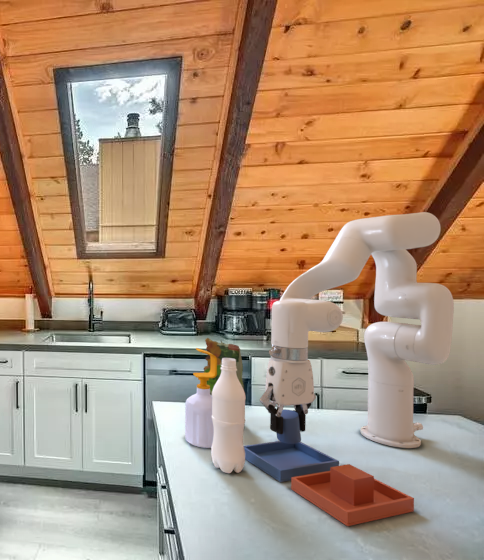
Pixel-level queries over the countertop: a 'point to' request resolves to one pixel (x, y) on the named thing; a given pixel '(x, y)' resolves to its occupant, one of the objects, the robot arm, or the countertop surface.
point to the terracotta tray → (320, 495)
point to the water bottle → (228, 419)
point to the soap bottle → (201, 409)
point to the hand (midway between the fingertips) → (287, 429)
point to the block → (352, 484)
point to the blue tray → (288, 459)
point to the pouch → (221, 352)
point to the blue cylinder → (290, 427)
